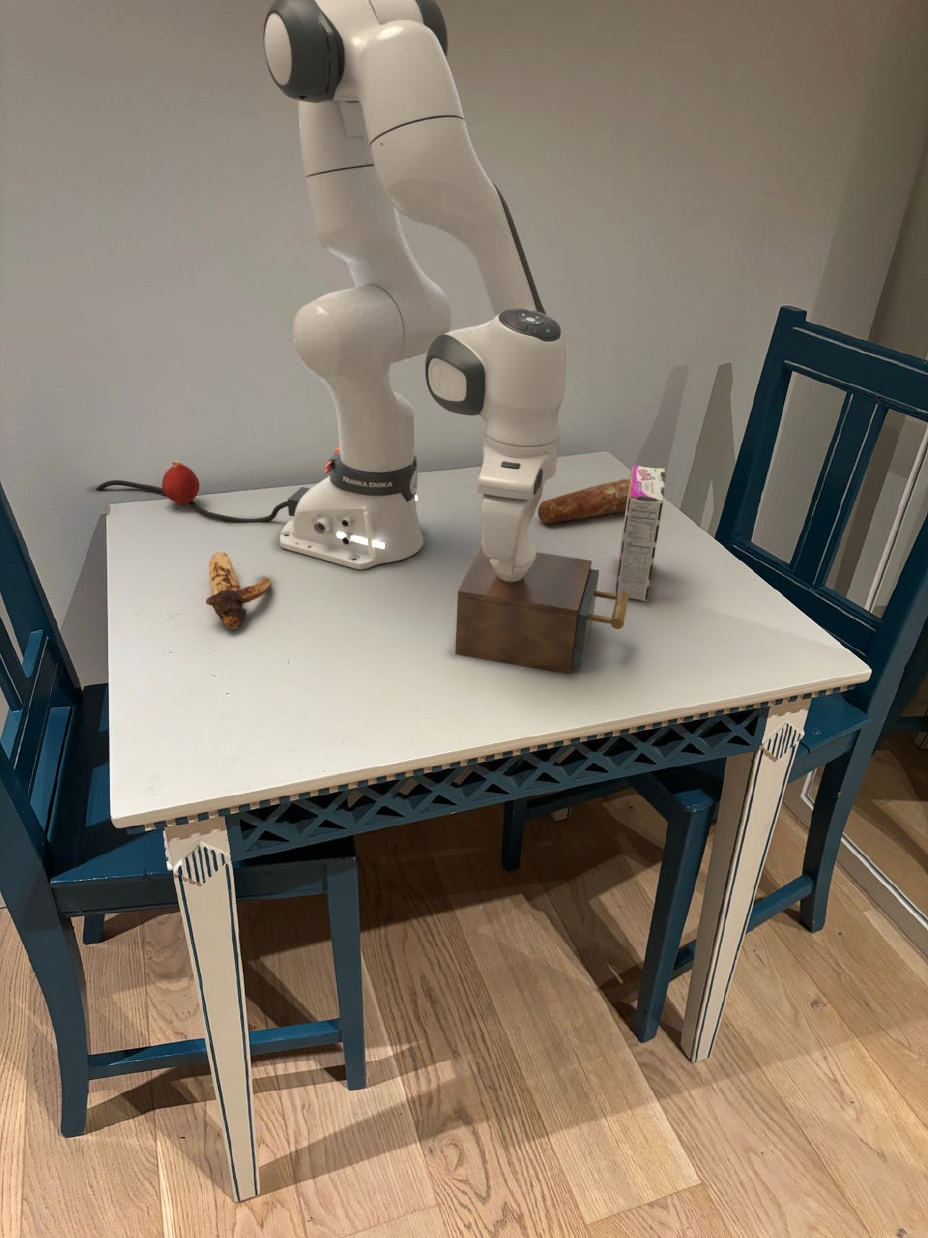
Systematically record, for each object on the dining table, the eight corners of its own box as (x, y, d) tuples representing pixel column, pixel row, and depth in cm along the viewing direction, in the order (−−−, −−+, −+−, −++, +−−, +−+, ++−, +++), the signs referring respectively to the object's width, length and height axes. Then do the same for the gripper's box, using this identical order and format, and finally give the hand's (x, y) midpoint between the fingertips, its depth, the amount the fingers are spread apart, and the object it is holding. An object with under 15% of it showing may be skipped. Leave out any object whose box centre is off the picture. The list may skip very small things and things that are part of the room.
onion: (186, 495, 153) (180, 451, 148) (209, 504, 150) (203, 460, 146) (158, 506, 149) (151, 461, 144) (181, 516, 146) (174, 470, 142)
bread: (644, 514, 153) (649, 484, 150) (545, 530, 147) (548, 499, 144) (625, 499, 158) (629, 470, 155) (528, 514, 151) (531, 484, 148)
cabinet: (583, 620, 124) (591, 560, 119) (569, 674, 113) (578, 610, 108) (478, 603, 127) (481, 543, 122) (455, 653, 116) (457, 590, 111)
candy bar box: (617, 562, 139) (632, 463, 130) (649, 566, 138) (666, 467, 129) (612, 598, 129) (628, 495, 120) (647, 603, 129) (665, 499, 120)
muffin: (500, 559, 118) (504, 511, 114) (542, 572, 115) (547, 524, 112) (477, 579, 113) (480, 530, 110) (519, 593, 111) (524, 543, 107)
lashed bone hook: (281, 630, 120) (264, 563, 134) (280, 600, 117) (263, 536, 131) (210, 638, 117) (200, 569, 131) (207, 608, 114) (197, 541, 129)
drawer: (624, 624, 122) (632, 575, 118) (615, 673, 112) (623, 621, 108) (493, 602, 125) (497, 553, 121) (473, 648, 116) (476, 597, 111)
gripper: (511, 422, 114) (505, 519, 122) (473, 485, 98) (468, 593, 105) (560, 428, 113) (550, 526, 121) (530, 493, 97) (521, 602, 104)
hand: (512, 558), depth 113 cm, fingers closed on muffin, 6 cm apart
